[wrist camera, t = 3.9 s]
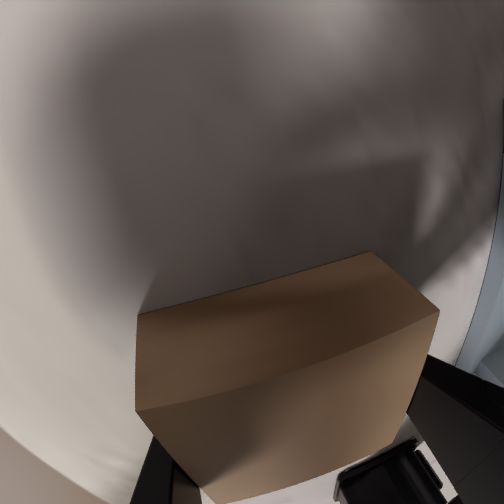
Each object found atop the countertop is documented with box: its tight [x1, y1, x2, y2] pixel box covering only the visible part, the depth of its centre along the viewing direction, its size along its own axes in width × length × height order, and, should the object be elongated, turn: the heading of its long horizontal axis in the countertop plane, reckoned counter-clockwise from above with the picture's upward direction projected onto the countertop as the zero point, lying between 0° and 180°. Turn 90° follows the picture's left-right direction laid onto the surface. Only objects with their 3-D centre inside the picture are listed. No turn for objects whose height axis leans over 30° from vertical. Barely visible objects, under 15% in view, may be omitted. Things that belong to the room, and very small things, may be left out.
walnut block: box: [135, 251, 440, 504], centre depth 8 cm, size 6×6×3 cm
